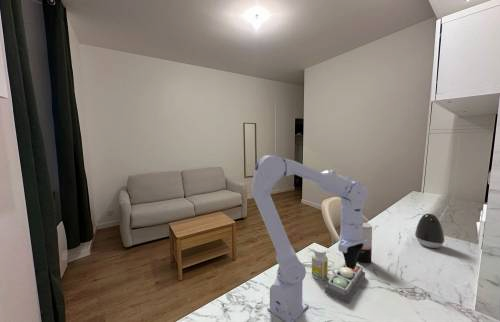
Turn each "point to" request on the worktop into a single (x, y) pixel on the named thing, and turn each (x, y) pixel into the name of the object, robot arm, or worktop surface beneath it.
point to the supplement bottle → (319, 263)
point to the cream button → (346, 273)
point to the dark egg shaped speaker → (429, 231)
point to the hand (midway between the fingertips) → (350, 267)
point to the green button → (340, 282)
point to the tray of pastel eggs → (351, 287)
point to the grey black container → (366, 245)
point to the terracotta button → (353, 269)
